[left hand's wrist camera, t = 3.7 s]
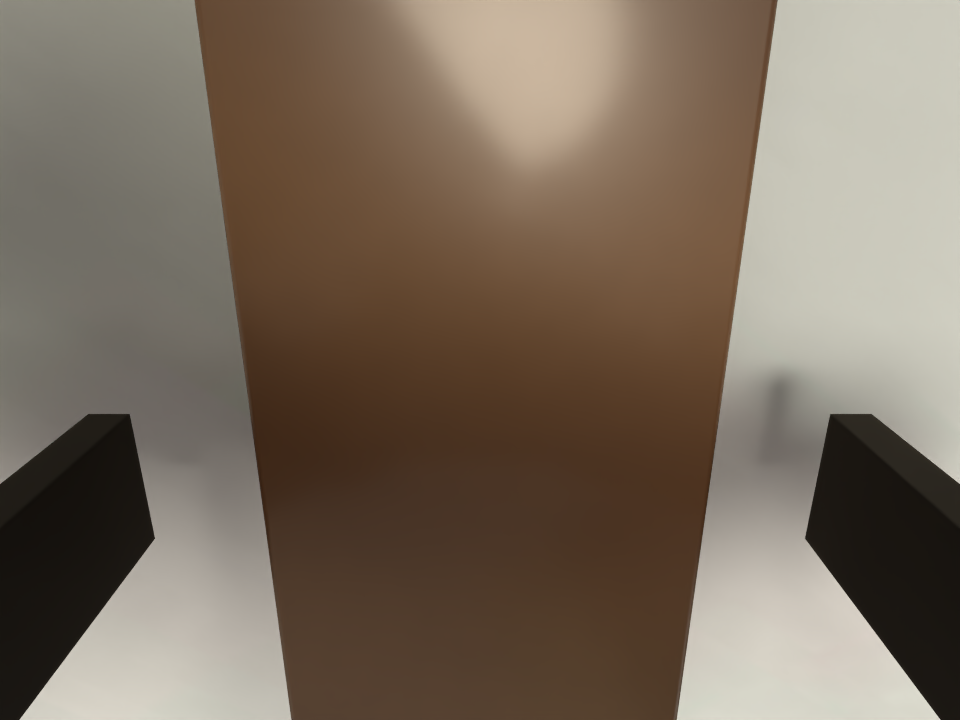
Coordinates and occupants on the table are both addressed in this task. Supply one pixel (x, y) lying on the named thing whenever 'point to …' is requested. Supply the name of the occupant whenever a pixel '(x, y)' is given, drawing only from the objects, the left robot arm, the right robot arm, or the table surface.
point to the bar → (485, 335)
